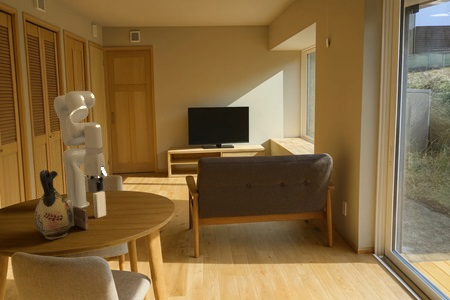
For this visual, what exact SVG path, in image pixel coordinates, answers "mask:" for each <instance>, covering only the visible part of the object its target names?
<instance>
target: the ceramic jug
mask: <svg viewBox="0 0 450 300" xmlns="http://www.w3.org/2000/svg"><path fill="white" fill-rule="evenodd" d="M57 176H58V172H57V171H56V170H52V171H49V170H46V169H42V170H41V171H40V172H39V179H40V180H39V181H40V184H41V187H42V189H43V194H42V195H41V197H40V199H39V201H38V203H37V204H36V206H35V210H34V211H35V212H34V215H33V216H34V218H33V219H34V225H35V228H36V229H37V231H39V232H40V233H41V234H42V235H43V236H44V238H45V239H46V240H56V239H60V238H64V237H66V236H67V235H69V234H68V231H69V230H70V228H71V227H72V226H71V224H72V221H73V215H72V212H71V209H70V207H69V205H68V203H67V202H66V201H65V199H66V198H64V197H63V196H62V195H61V193H59V192H58V191H57V190H56V188H55V187H54V179H56V177H57Z"/></svg>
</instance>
